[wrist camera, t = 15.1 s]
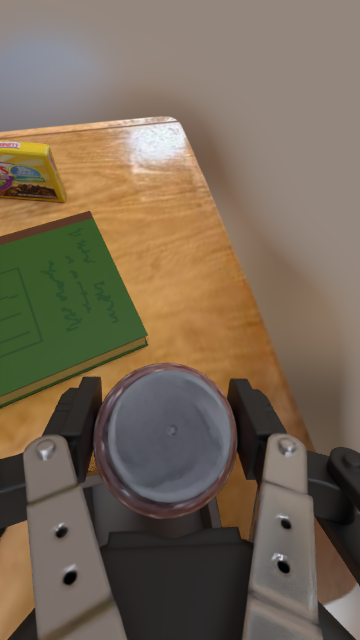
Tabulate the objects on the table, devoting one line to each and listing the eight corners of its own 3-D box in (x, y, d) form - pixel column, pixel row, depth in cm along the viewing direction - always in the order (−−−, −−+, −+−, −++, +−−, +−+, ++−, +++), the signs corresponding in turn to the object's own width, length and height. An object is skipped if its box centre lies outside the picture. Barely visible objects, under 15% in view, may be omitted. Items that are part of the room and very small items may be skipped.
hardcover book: (94, 230, 41) (89, 210, 38) (147, 345, 35) (147, 334, 32) (-106, 291, 35) (-133, 274, 32) (-81, 442, 29) (-112, 442, 26)
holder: (195, 448, 31) (206, 450, 25) (220, 581, 27) (242, 624, 21) (84, 472, 30) (66, 481, 23) (93, 618, 25) (74, 678, 19)
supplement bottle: (160, 374, 21) (172, 307, 11) (222, 435, 20) (301, 425, 10) (96, 439, 19) (33, 431, 9) (160, 511, 18) (176, 603, 7)
